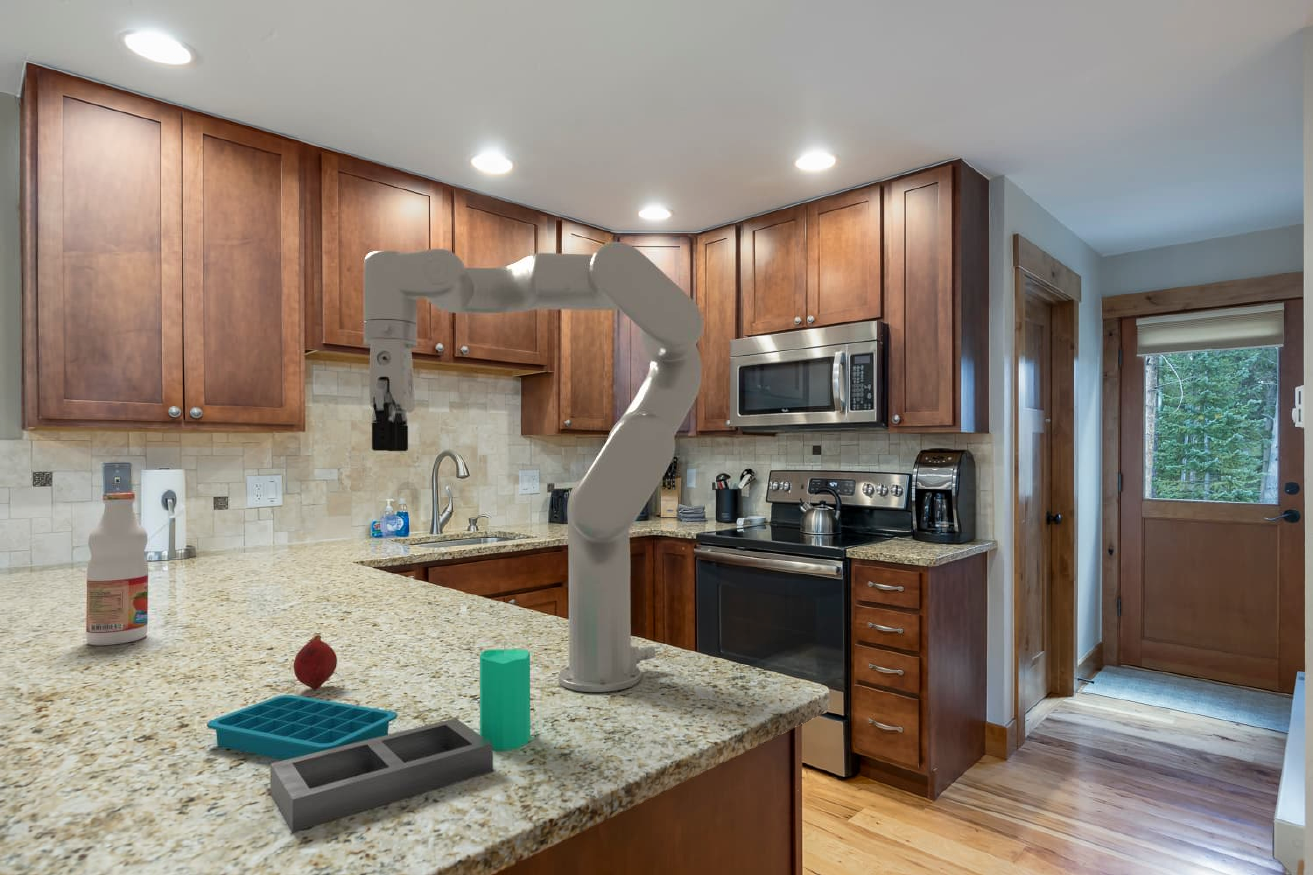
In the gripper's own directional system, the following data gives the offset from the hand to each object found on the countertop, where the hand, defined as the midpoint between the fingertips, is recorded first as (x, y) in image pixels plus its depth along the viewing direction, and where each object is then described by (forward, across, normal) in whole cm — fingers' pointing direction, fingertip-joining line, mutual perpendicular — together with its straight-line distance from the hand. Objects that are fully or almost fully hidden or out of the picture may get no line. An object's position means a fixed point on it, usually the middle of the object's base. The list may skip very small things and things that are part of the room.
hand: (390, 450), depth 107 cm
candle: (+36, -22, -17) cm, 45 cm away
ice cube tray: (+36, -17, +7) cm, 41 cm away
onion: (+36, +3, +11) cm, 38 cm away
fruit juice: (+36, +42, +58) cm, 79 cm away
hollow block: (+36, -31, -5) cm, 47 cm away
